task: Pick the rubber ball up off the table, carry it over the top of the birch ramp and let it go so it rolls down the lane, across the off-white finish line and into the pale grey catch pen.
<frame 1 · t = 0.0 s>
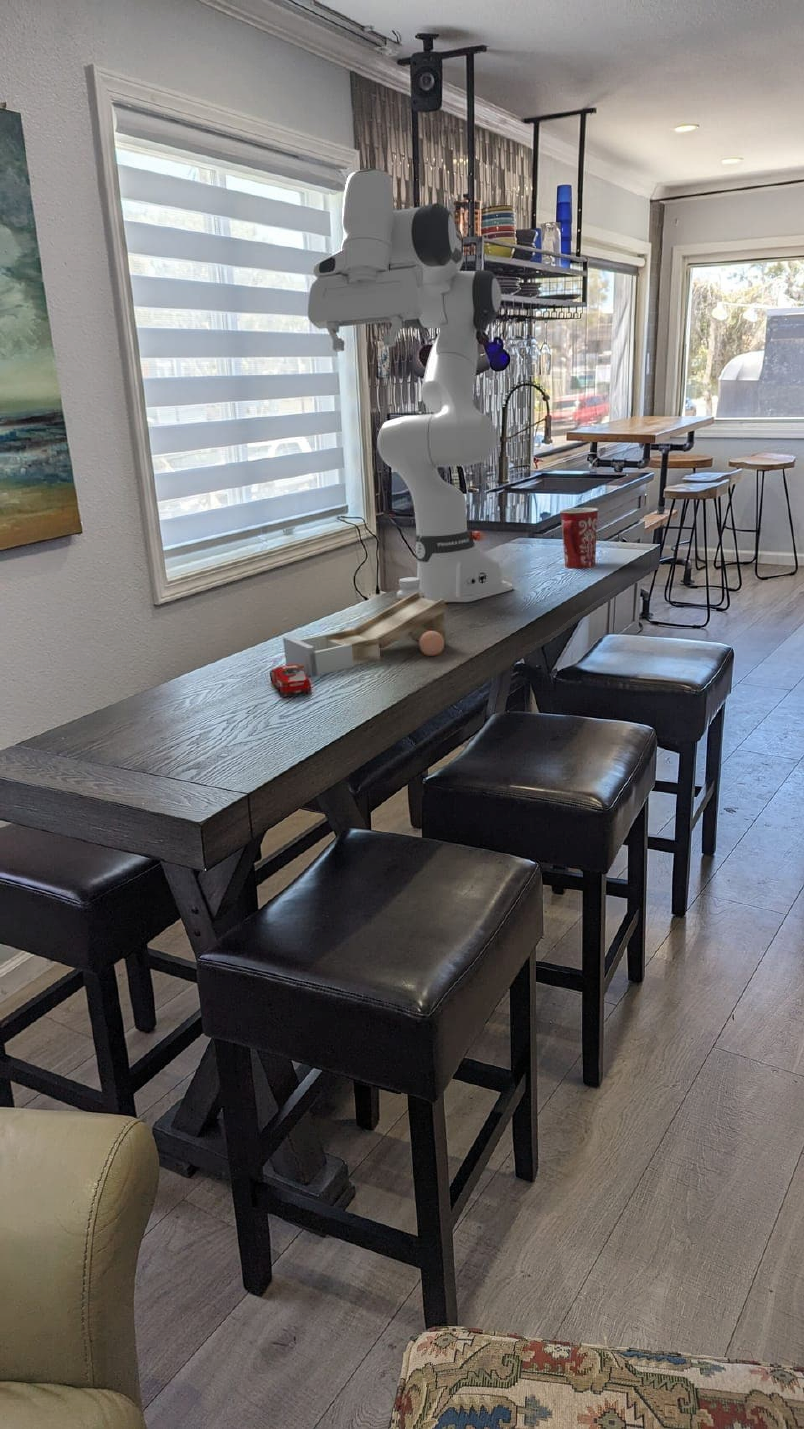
hand: (363, 348, 169), 52 cm above the table, tool tilted 20°, fingers open, 8 cm apart
supplement bottle: (413, 628, 194), on the table
ball: (431, 643, 173), point 2 cm above the table
catch pen: (319, 665, 173), on the table
mug: (576, 567, 239), on the table
race car: (291, 689, 162), on the table
ramp: (401, 646, 181), on the table
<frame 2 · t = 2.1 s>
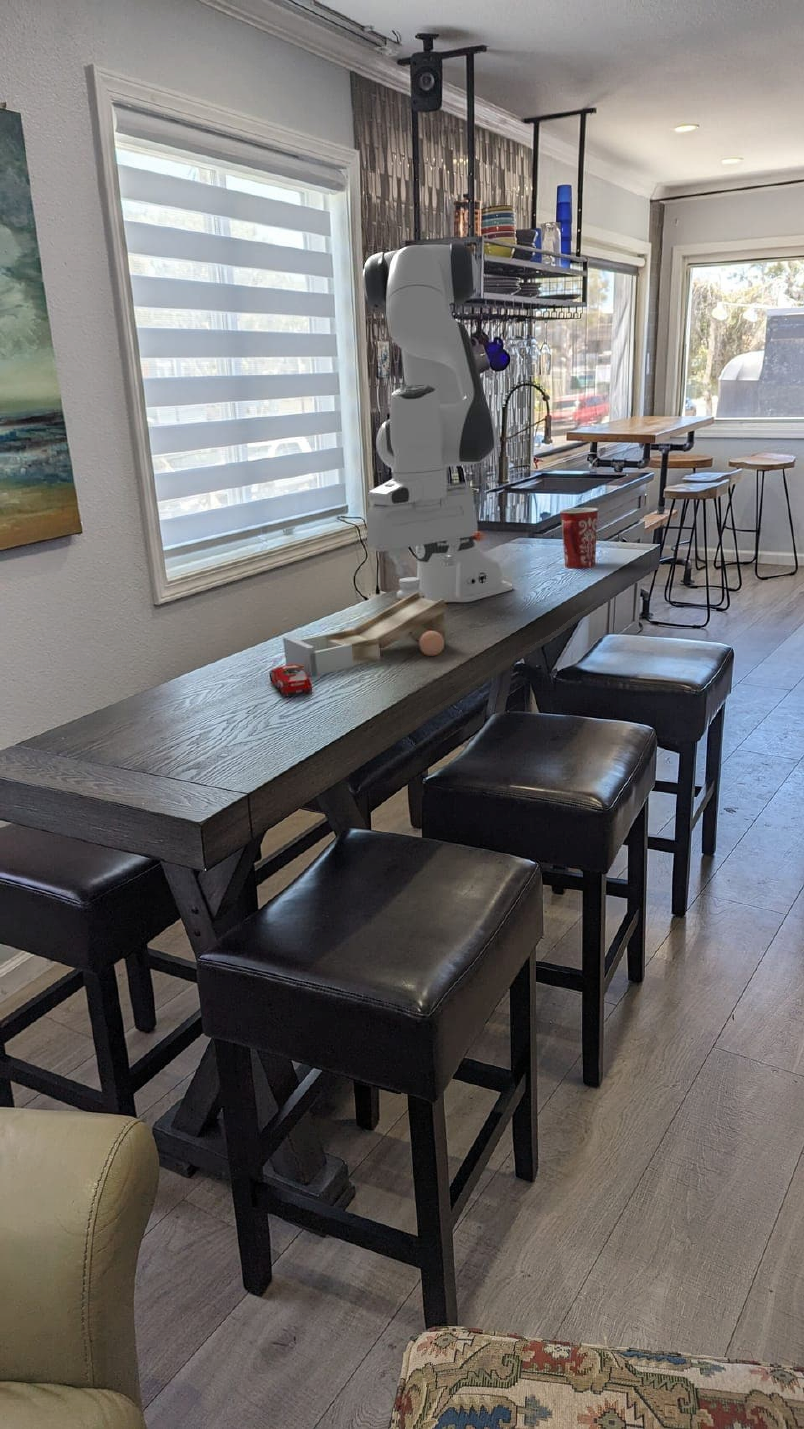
hand: (426, 570, 169), 15 cm above the table, tool pointing down, fingers open, 8 cm apart
nothing on the table moved.
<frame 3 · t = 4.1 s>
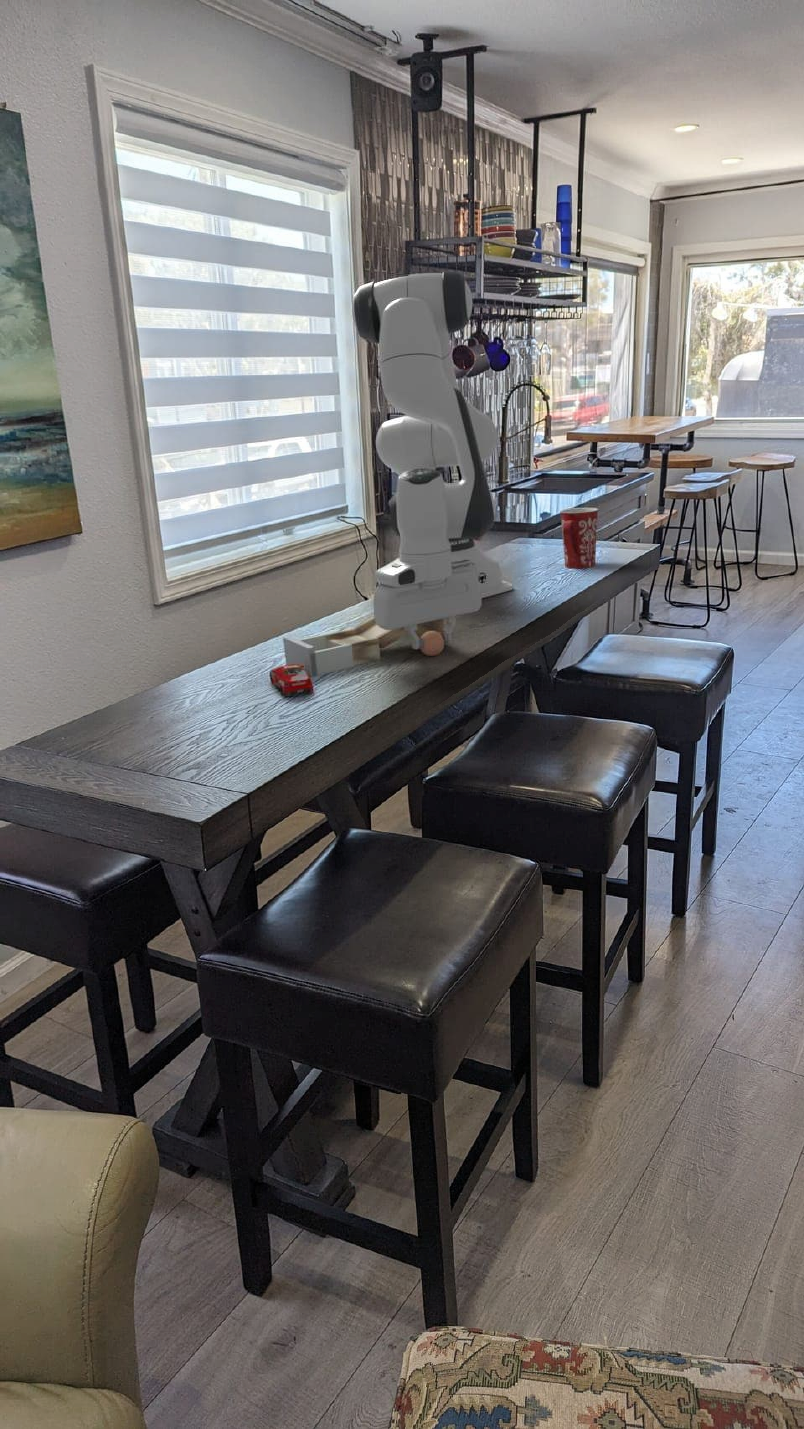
hand: (431, 644, 173), 2 cm above the table, tool pointing down, fingers closed on ball, 4 cm apart
ball: (431, 643, 173), point 2 cm above the table, touching gripper
everything else where it was.
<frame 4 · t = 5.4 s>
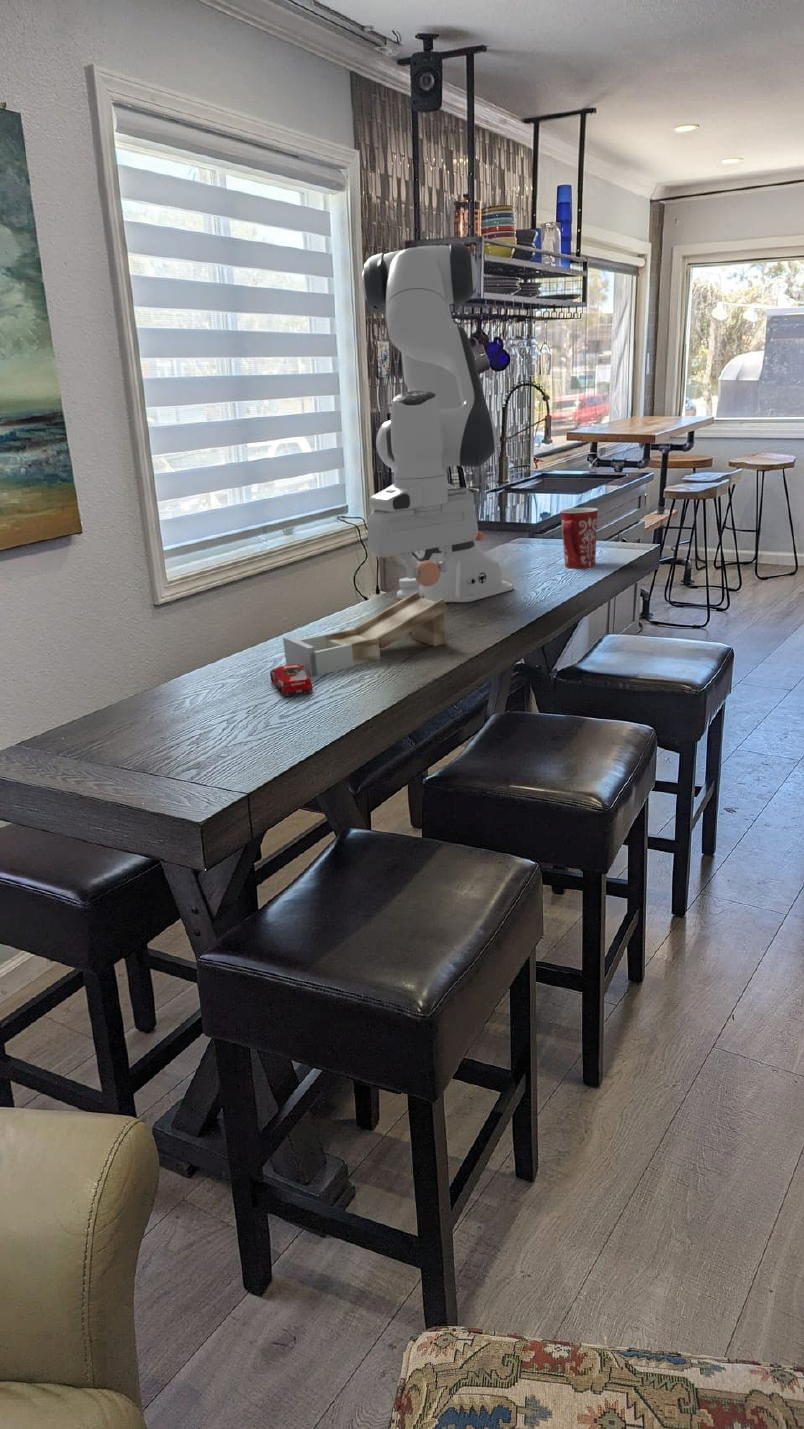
hand: (427, 574, 169), 14 cm above the table, tool pointing down, fingers closed on ball, 4 cm apart
ball: (427, 573, 169), point 15 cm above the table, touching gripper
everything else where it was.
when the fingers open (10 cm above the table, at t = 7.0 s): ball drops 8 cm and tips over, point 2 cm above the table.
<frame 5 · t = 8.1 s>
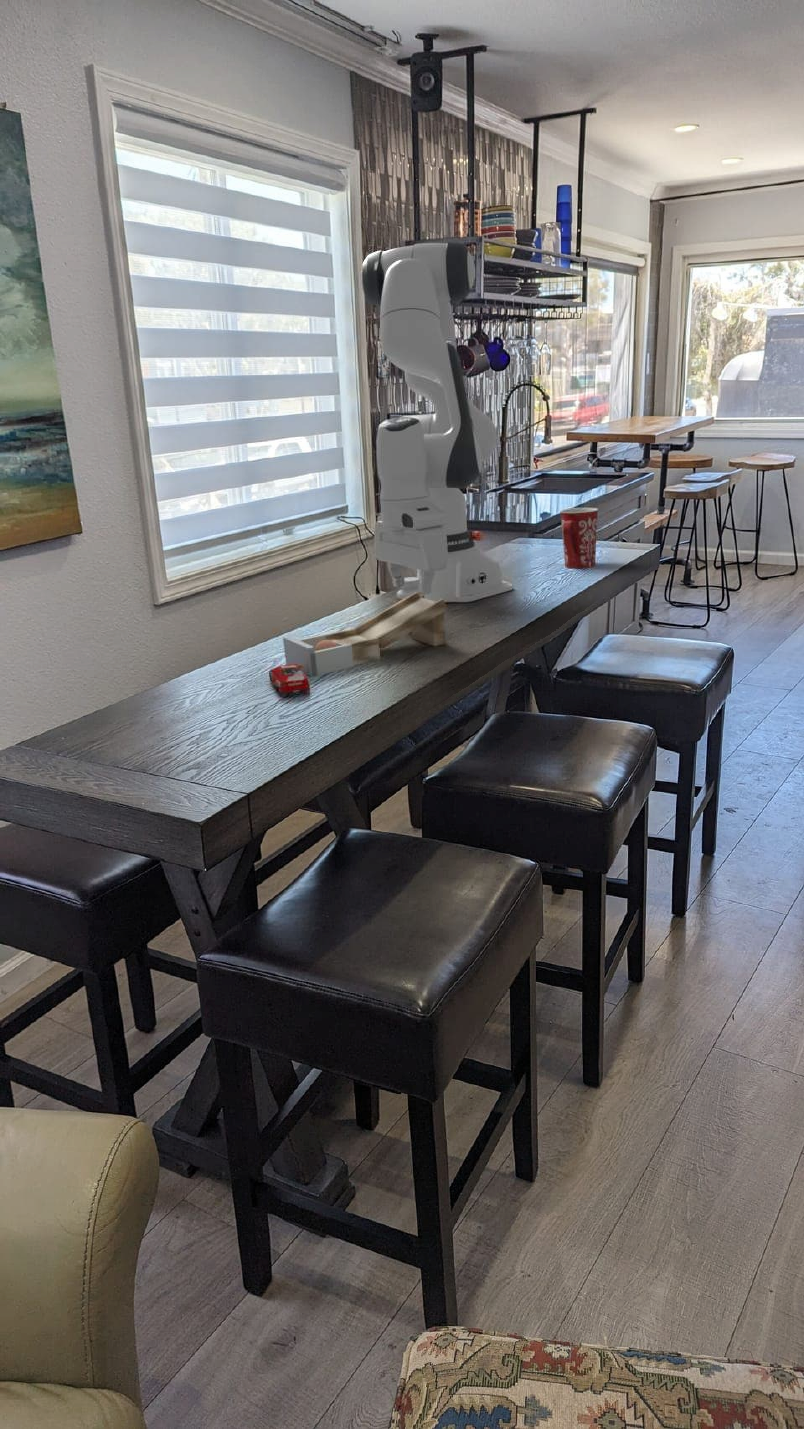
hand: (411, 590, 179), 10 cm above the table, tool pointing down, fingers open, 8 cm apart
ball: (326, 652, 173), point 2 cm above the table, tilted 147°
everything else where it was.
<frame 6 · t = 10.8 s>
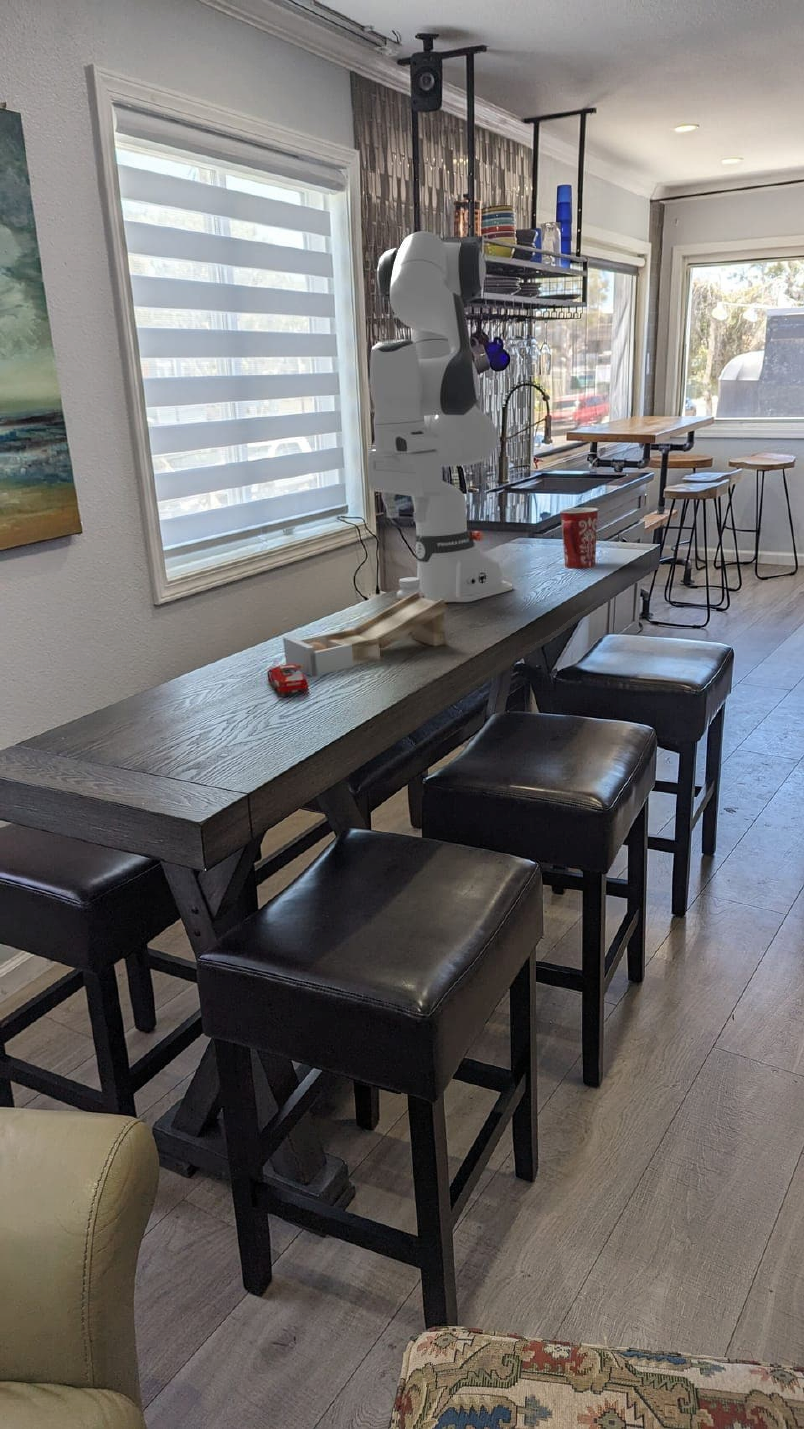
hand: (406, 519, 175), 23 cm above the table, tool pointing down, fingers open, 8 cm apart
ball: (315, 654, 172), point 2 cm above the table, tilted 156°
everything else where it was.
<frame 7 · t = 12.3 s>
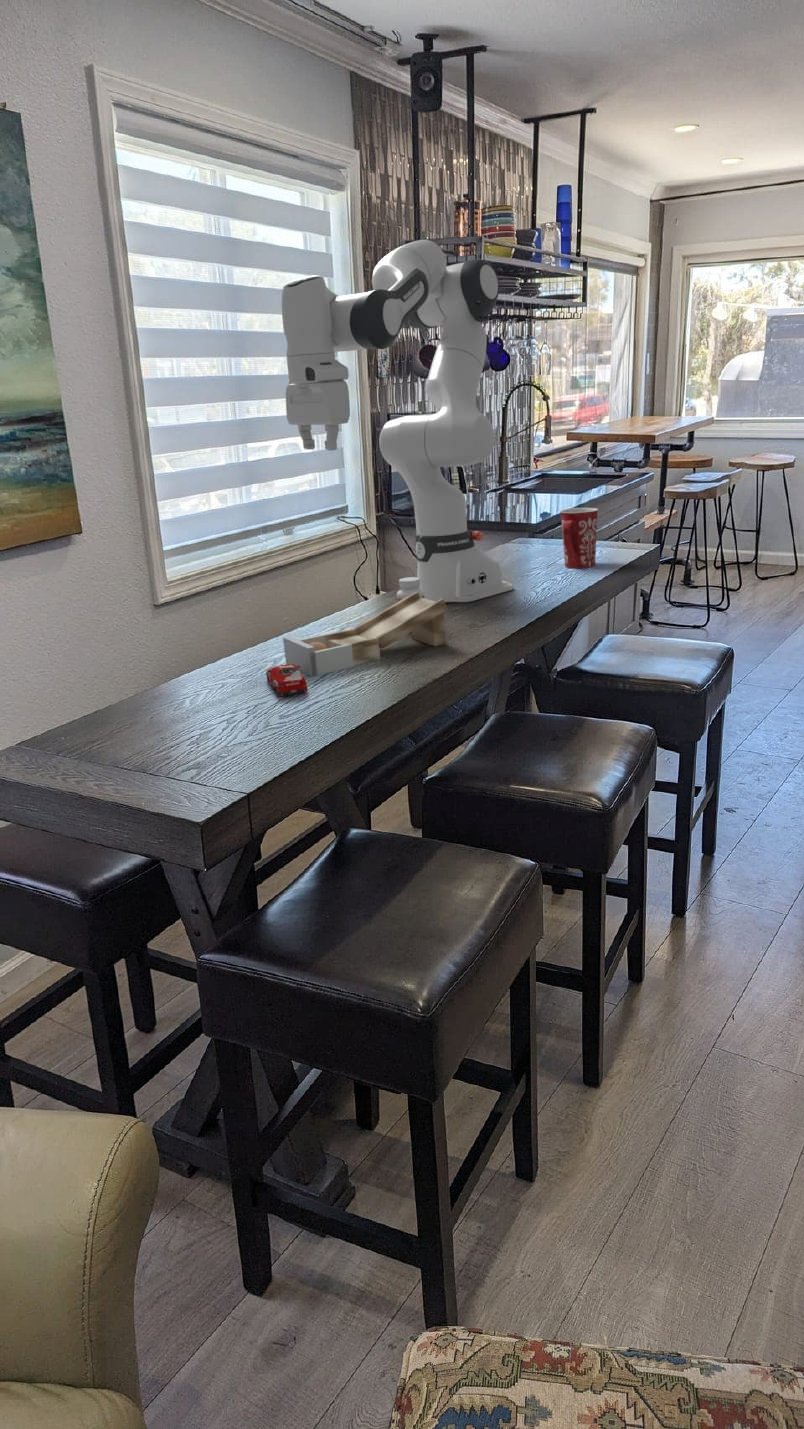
hand: (320, 449, 184), 35 cm above the table, tool pointing down, fingers open, 8 cm apart
nothing on the table moved.
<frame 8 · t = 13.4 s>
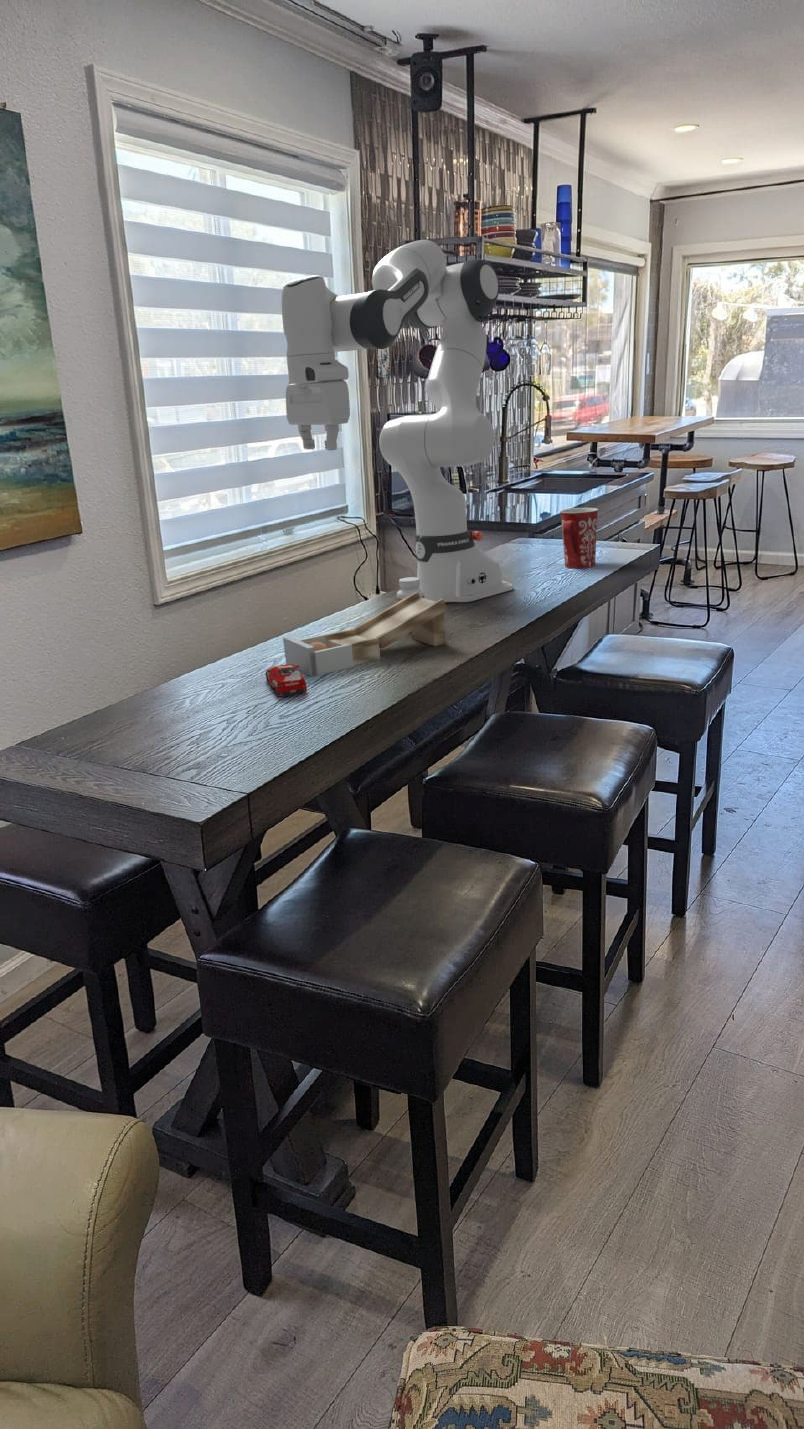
hand: (320, 449, 185), 35 cm above the table, tool pointing down, fingers open, 8 cm apart
nothing on the table moved.
at the end: ball inside the target area (0.4 cm from its centre), point 2.2 cm above the table; the gripper is holding nothing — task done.
